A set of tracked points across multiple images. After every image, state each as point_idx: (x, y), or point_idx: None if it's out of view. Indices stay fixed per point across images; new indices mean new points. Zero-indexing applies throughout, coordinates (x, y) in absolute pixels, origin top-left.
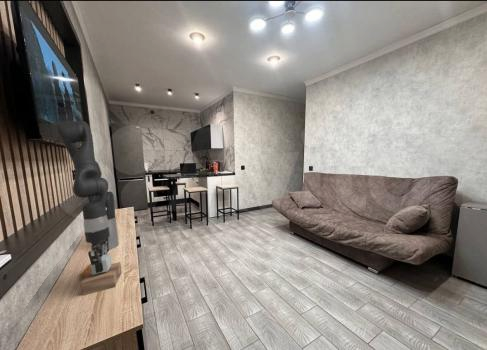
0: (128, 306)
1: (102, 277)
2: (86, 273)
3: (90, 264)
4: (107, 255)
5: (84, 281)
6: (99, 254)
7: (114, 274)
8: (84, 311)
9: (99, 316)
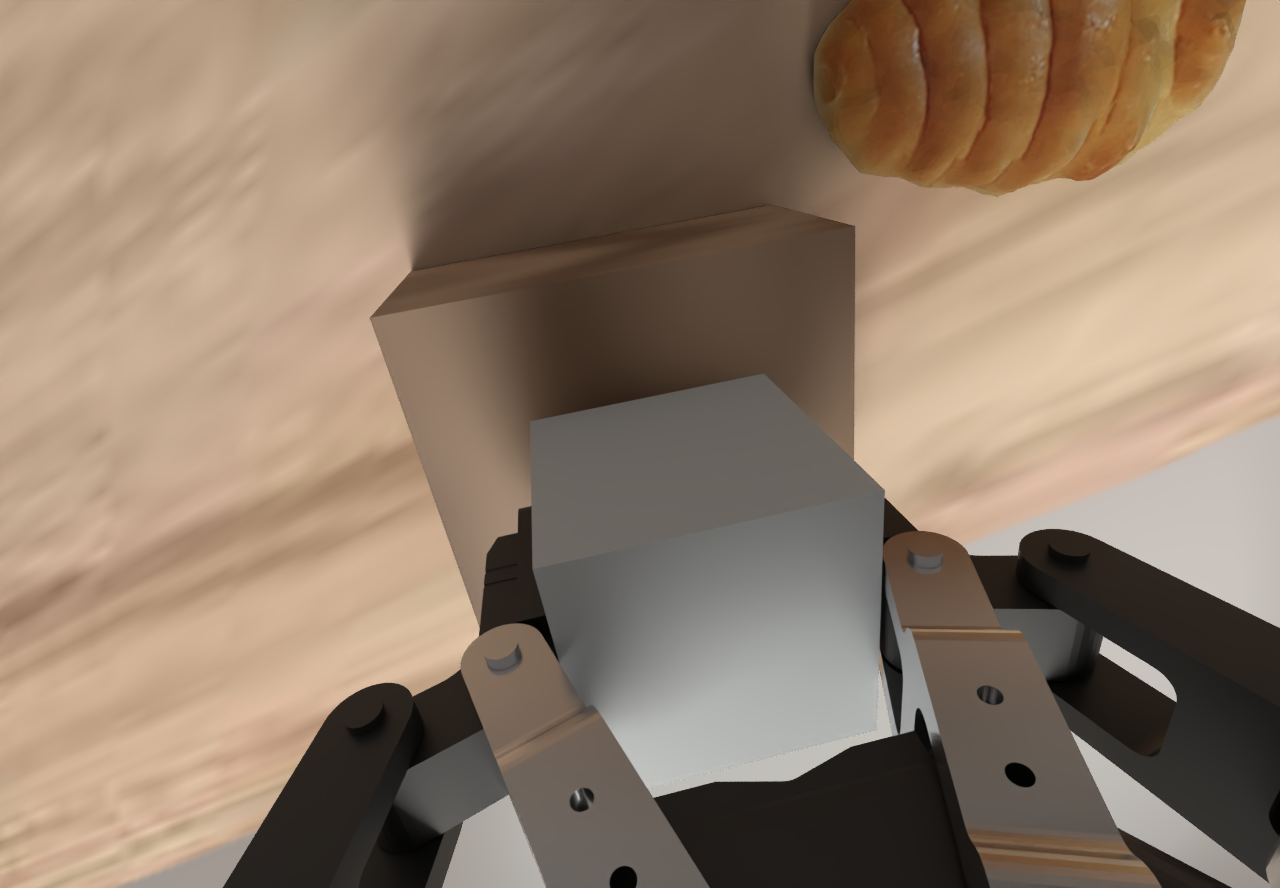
0: (181, 804)
1: (468, 572)
2: (903, 42)
3: None
4: (795, 728)
5: (406, 347)
6: (889, 597)
7: None
8: (110, 472)
9: (46, 654)
